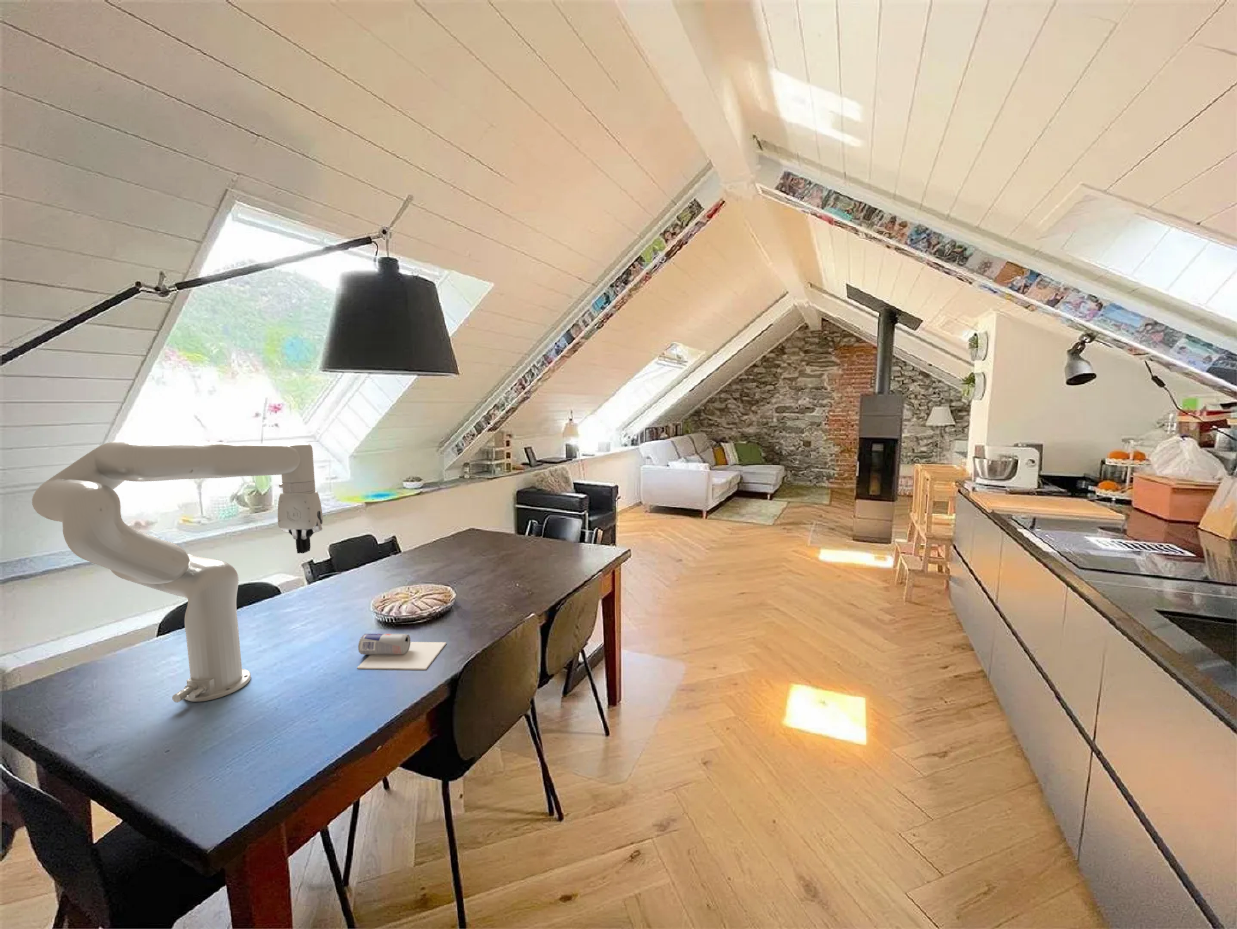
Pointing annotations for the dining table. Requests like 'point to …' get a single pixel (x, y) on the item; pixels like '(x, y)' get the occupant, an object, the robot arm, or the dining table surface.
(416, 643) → the mat
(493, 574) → the dining table surface
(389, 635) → the energy drink
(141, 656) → the dining table surface
